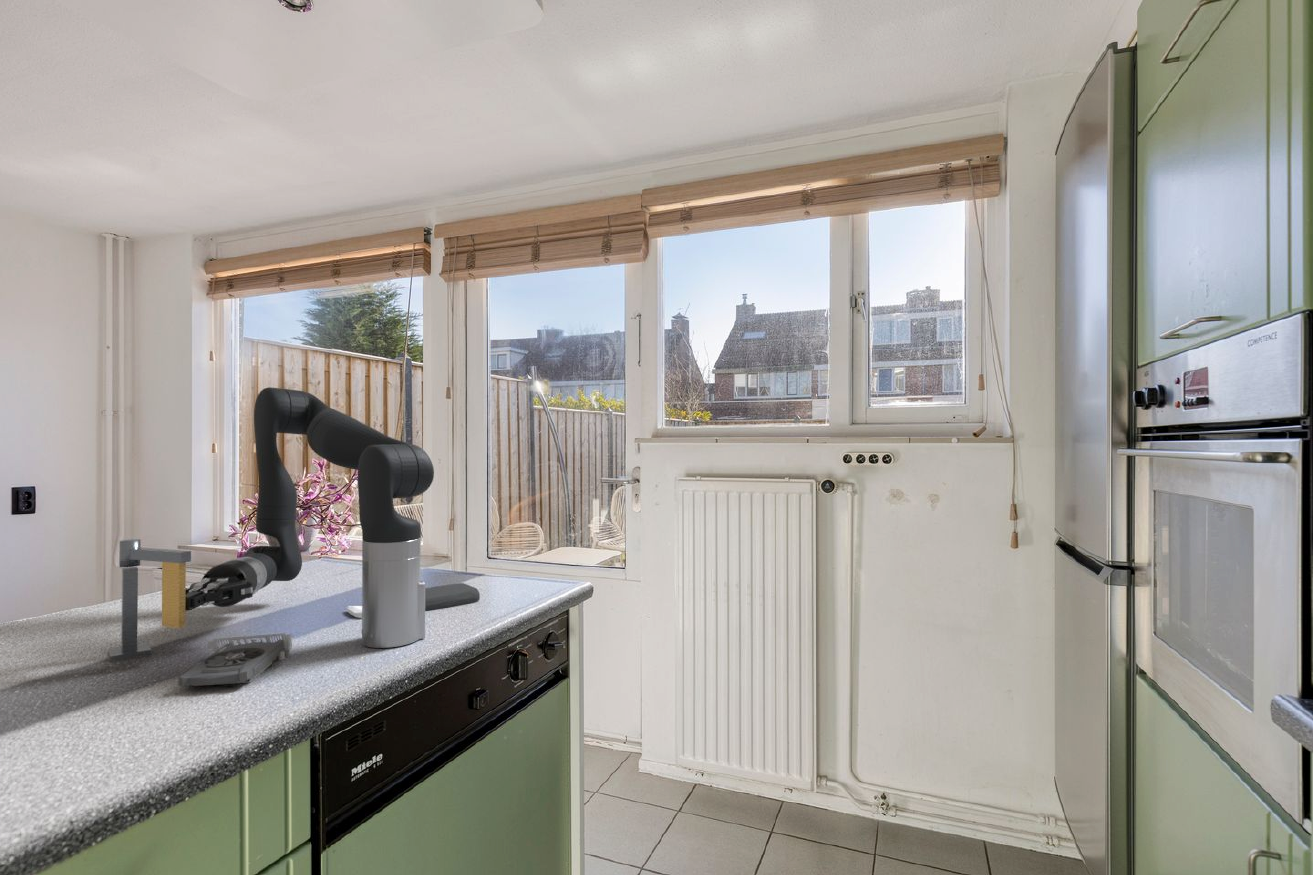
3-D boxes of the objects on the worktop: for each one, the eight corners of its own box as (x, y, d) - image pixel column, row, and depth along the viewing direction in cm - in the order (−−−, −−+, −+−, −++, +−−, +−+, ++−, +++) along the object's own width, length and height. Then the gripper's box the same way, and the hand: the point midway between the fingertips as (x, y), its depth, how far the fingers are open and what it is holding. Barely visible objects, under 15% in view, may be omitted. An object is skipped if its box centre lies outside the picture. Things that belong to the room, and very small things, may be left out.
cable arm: (193, 625, 101) (194, 542, 101) (177, 629, 99) (177, 545, 99) (132, 618, 105) (132, 538, 105) (114, 622, 103) (115, 541, 103)
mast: (147, 647, 107) (147, 564, 107) (151, 654, 103) (151, 568, 103) (107, 654, 104) (108, 568, 104) (110, 661, 100) (110, 572, 100)
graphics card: (211, 636, 103) (294, 630, 105) (211, 660, 103) (294, 653, 106) (151, 675, 87) (250, 667, 89) (151, 704, 87) (251, 694, 89)
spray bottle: (483, 604, 138) (359, 626, 122) (461, 594, 146) (343, 614, 130) (483, 589, 138) (359, 611, 122) (461, 581, 146) (343, 599, 130)
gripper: (195, 560, 117) (136, 581, 100) (275, 558, 120) (231, 578, 102) (195, 602, 117) (136, 630, 100) (275, 599, 119) (231, 626, 102)
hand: (184, 604), depth 101 cm, fingers closed
